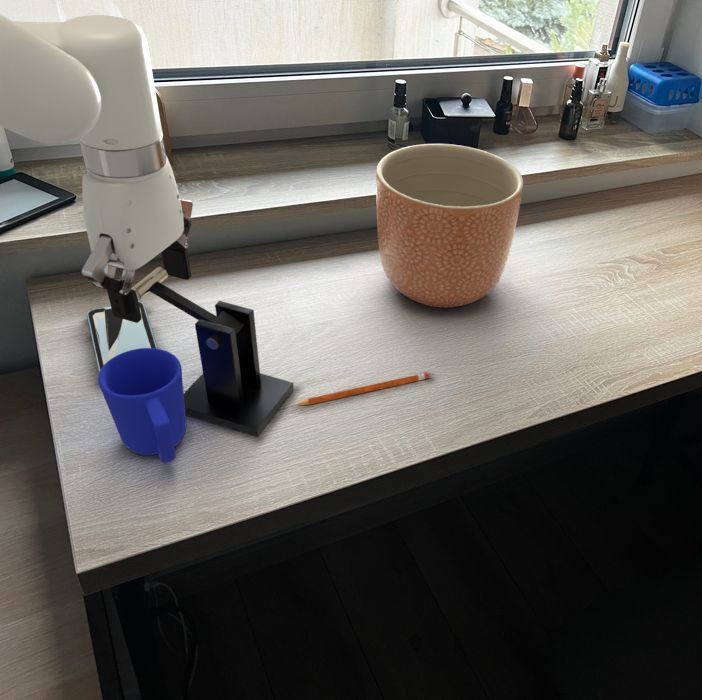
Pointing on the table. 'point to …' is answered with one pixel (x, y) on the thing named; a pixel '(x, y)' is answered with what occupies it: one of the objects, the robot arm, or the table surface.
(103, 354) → the smartphone
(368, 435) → the table surface
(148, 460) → the table surface
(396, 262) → the planter
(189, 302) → the lever
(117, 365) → the mug
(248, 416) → the bracket
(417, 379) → the pencil
